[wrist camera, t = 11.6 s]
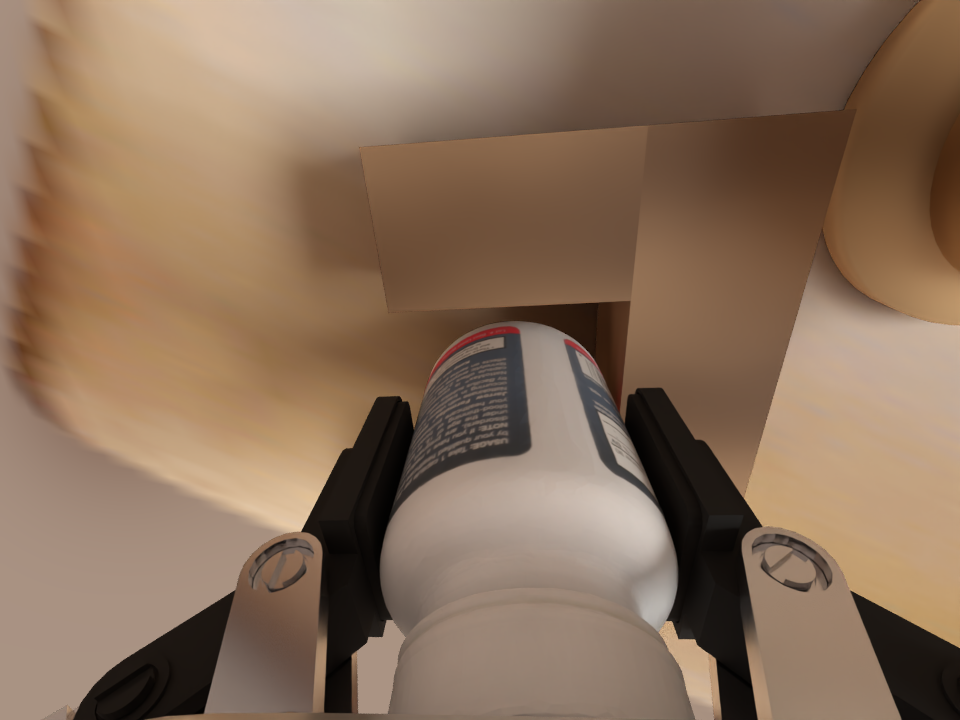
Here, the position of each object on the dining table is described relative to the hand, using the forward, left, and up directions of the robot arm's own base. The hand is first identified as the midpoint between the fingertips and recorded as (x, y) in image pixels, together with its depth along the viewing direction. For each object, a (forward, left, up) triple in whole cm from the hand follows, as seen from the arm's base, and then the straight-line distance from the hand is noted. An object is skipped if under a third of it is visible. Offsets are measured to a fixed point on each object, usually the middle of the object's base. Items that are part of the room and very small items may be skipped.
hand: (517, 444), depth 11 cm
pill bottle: (0, 0, -3) cm, 3 cm away
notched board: (0, +2, -5) cm, 5 cm away
